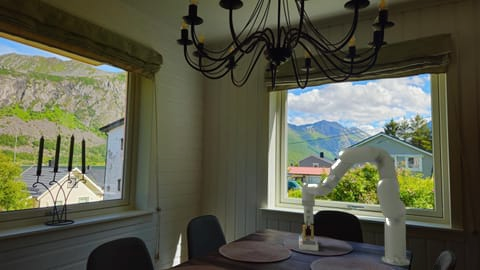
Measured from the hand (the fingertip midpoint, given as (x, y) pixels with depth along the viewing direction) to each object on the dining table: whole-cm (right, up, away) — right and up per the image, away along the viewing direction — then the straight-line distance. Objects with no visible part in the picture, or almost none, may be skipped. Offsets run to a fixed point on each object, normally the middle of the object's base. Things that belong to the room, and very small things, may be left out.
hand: (308, 234), depth 184 cm
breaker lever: (0, -3, 0) cm, 3 cm away
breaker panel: (0, -6, 0) cm, 6 cm away
